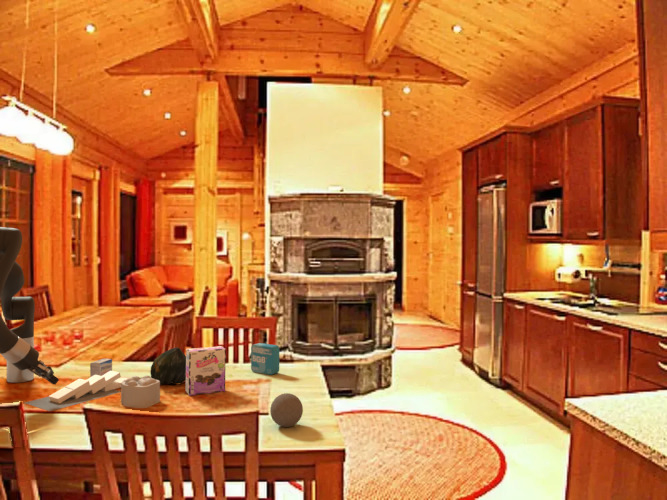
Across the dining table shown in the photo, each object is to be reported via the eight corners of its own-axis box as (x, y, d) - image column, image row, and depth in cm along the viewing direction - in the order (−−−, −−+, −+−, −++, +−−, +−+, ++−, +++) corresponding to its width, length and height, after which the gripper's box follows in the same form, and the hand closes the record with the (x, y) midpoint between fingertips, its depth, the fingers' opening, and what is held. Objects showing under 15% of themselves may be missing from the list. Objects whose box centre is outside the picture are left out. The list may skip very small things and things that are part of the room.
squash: (141, 368, 210) (155, 343, 204) (174, 363, 221) (189, 340, 215) (153, 397, 203) (168, 373, 196) (187, 391, 214) (202, 367, 207)
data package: (250, 371, 228) (251, 344, 228) (257, 369, 232) (257, 342, 232) (273, 375, 223) (273, 347, 222) (279, 373, 226) (279, 345, 226)
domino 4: (105, 386, 195) (133, 379, 205) (96, 384, 198) (123, 377, 208) (105, 391, 195) (132, 384, 205) (96, 389, 198) (123, 381, 208)
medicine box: (100, 385, 204) (100, 363, 204) (89, 384, 205) (89, 362, 205) (112, 380, 212) (112, 358, 212) (102, 379, 213) (102, 358, 213)
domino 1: (58, 398, 179) (88, 380, 189) (48, 396, 182) (79, 378, 192) (59, 403, 180) (90, 385, 190) (50, 400, 183) (80, 382, 193)
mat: (23, 404, 180) (23, 402, 180) (95, 386, 203) (95, 384, 203) (49, 412, 172) (50, 411, 172) (122, 392, 195) (121, 391, 195)
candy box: (188, 396, 192) (188, 351, 192) (185, 392, 197) (185, 348, 197) (225, 391, 198) (226, 348, 198) (221, 387, 204) (221, 345, 203)
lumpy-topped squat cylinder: (144, 409, 177) (144, 383, 177) (113, 404, 181) (113, 379, 181) (163, 400, 187) (163, 376, 187) (133, 396, 191) (134, 372, 191)
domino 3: (91, 389, 190) (119, 372, 200) (82, 387, 193) (110, 370, 203) (93, 394, 191) (120, 376, 200) (84, 391, 194) (111, 374, 203)
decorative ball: (264, 429, 160) (264, 396, 160) (279, 418, 169) (279, 387, 169) (294, 433, 156) (294, 400, 156) (307, 423, 166) (308, 391, 165)
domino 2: (75, 394, 185) (104, 376, 194) (65, 391, 188) (95, 374, 197) (76, 398, 185) (105, 381, 195) (67, 396, 188) (96, 378, 198)
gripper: (38, 345, 170) (74, 375, 180) (16, 341, 177) (52, 370, 187) (21, 365, 165) (59, 394, 176) (0, 359, 172) (37, 388, 183)
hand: (55, 382), depth 182 cm, fingers closed
